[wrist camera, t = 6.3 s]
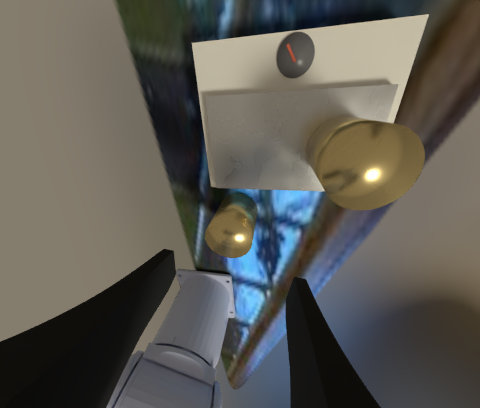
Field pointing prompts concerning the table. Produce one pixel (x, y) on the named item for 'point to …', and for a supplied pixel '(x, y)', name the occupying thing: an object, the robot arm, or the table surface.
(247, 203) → the cylinder
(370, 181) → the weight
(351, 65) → the scale
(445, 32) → the table surface
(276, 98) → the scale pan
